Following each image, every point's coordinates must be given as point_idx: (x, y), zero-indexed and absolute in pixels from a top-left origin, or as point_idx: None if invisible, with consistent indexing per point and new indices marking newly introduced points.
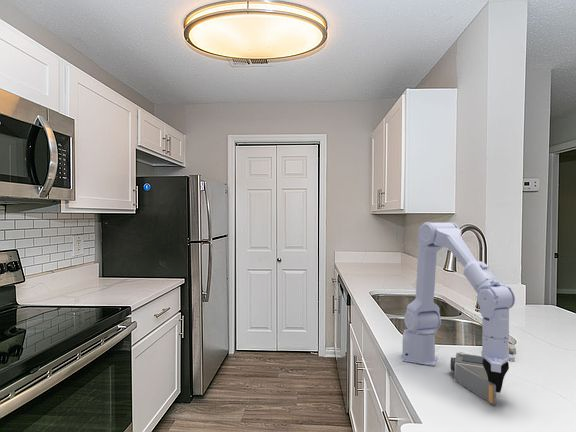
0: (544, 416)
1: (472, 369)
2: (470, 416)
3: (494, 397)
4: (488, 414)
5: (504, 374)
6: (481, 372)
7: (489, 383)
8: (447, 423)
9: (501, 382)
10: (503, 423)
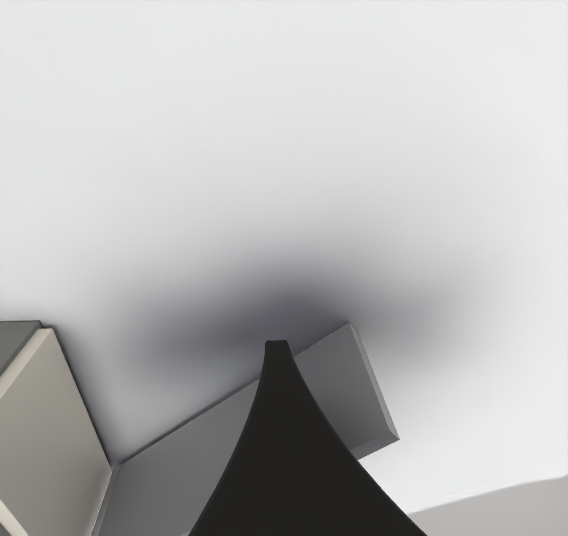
0: (412, 24)
1: (51, 509)
2: (491, 391)
3: (368, 360)
4: (458, 340)
5: (383, 491)
6: (37, 464)
7: (359, 454)
8: (555, 436)
9: (317, 407)
10: (547, 285)
